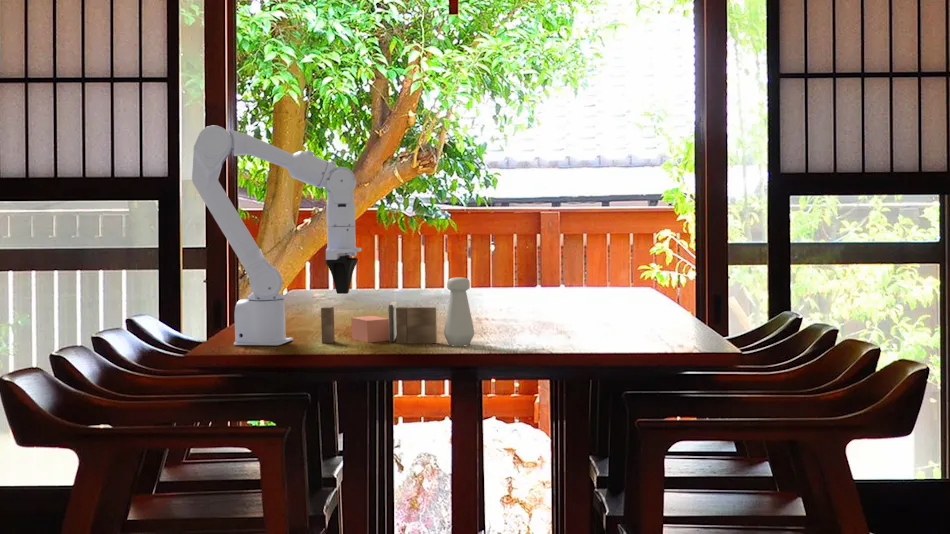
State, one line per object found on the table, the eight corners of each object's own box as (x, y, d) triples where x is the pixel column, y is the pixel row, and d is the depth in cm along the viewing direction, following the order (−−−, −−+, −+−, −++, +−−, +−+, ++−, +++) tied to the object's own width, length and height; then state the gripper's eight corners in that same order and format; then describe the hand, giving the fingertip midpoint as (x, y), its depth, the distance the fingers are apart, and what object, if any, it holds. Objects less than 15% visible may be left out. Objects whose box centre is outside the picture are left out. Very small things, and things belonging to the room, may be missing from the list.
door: (392, 333, 196) (391, 301, 196) (397, 333, 196) (397, 301, 196) (388, 340, 185) (388, 307, 185) (394, 340, 185) (393, 307, 185)
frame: (321, 342, 186) (320, 305, 186) (325, 341, 188) (324, 304, 188) (435, 343, 182) (434, 305, 182) (437, 342, 184) (436, 304, 184)
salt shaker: (470, 347, 177) (469, 278, 176) (441, 346, 178) (440, 278, 178) (477, 342, 183) (476, 276, 182) (448, 342, 184) (447, 276, 183)
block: (351, 339, 192) (351, 317, 191) (373, 337, 195) (373, 315, 194) (367, 343, 186) (367, 320, 186) (389, 341, 189) (389, 318, 188)
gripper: (349, 227, 181) (351, 296, 182) (369, 225, 196) (371, 290, 196) (314, 227, 182) (316, 296, 183) (337, 225, 197) (339, 290, 198)
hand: (342, 293), depth 190 cm, fingers closed
